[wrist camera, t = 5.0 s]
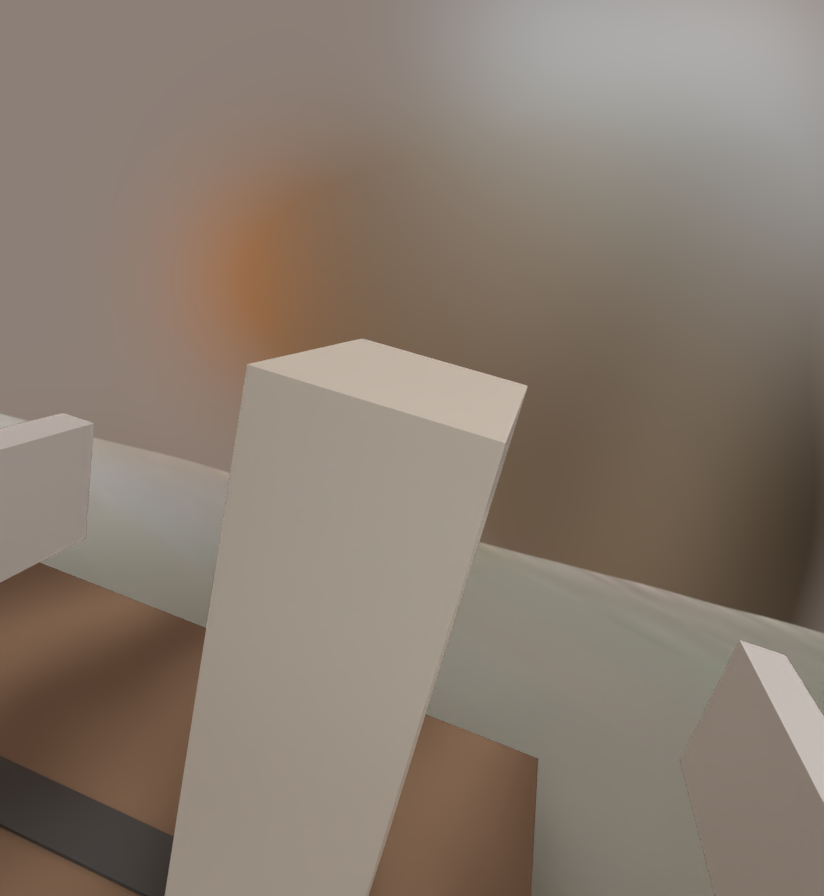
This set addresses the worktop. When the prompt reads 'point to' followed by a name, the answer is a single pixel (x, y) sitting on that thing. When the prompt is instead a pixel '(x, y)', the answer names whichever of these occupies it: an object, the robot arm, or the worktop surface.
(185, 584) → the worktop surface
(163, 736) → the board
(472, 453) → the fader tab
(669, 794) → the worktop surface
